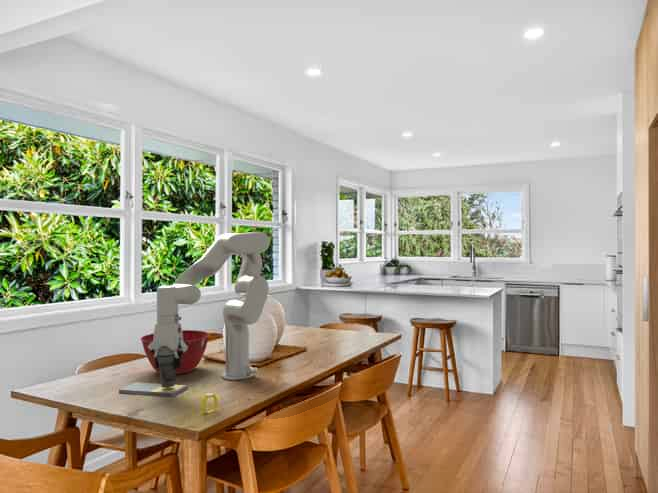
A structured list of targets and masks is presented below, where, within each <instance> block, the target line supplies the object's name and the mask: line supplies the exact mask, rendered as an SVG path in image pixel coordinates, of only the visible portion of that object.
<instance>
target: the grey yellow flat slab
mask: <svg viewBox="0 0 658 493" xmlns="http://www.w3.org/2000/svg"><path fill="white" fill-rule="evenodd" d="M185 390H188V385H185V384H174V386H173V387H169V388H163V387H161V383H153V382H152V383H147V382H133V383H131V384H128V385H126V386H124V387H122V388H120V389H119V388H118V394H128V395H129V394H130V395H132V394H133V395H144V396H146V395H147V396H161V397H174V396H176V395H178V394H181V393H182V392H184V391H185Z"/></svg>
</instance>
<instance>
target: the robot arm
mask: <svg viewBox="0 0 658 493" xmlns="http://www.w3.org/2000/svg"><path fill="white" fill-rule="evenodd" d="M270 242H271V241H270V237H269V236H268V235H267V233H265V232H262V231H255V232H254V231H252V232H251V231H250V232H241V233H238V232H237V233H235V232H234V233H223V234H220V235H219V236H218V237H217V238H216V239H215V240H214V241H213V243H212V244H211V245H210V246H209V248H208V249H207V250H206V251H205V253H204V254H202V256H201V258H199V259H198V260H197V261H195V262H194V263H193V264H192V265H190V266H189V267H188V268H186V269H185V270H184V271H182V273H181V274H180V275H179V276H178V277H177V279H176V280H175V281H174V282H173V283H172V285H161V286H158V287H157V288H156V323H155V326H154V330H153V333H154V337H153V341H152V342H151V343H150V344H149V345H148V348H149V349H150V350H151V352H152V354H153V355H154V357H155V365H156V368H159V364H158V360H157V351H158V349H159V348H160V347H161V346H167V347H169V348H170V349H171V350H172V351H173V352H174V355H175V358H174V369H178V368H180V365H181V356H182V355H183V354H184V353H185V351H186V350H187V349H188V346H187V345H186V344H185V343H184V342H183V333H182V330H183V327H182V324H181V322H179V321H181V320H182V317H181V316H179V305H193V304H196V303H197V302H199V301H200V299H201V297H202V293H201V290H200V288H199V287H198V286H197V284H198V283H200V282H201V281H203V280H205V279H208V278H210V277H213V276H214V275H216V274H217V273H218V272H219V271H220V270H221V269H222V267H223V266H224V265H225V263H226V262H227V260H228V259H229V258H230V257H231V256H232V255H241V258H242V260H241V265H240V268H239V269H240V270H239V273H238V274H237V278H236V281H235V283H234V293H235V294H236V295H237V296H239V297H241V298H244V299H240V298H239V299H238V298H236V299H231V300H228V301H227V302H226V303H225V304H224V306H223V310H222V315H223V316H222V317H223V322H224V330H225V332H224V333H225V372H223V373H221V378H222V379H224V380H230V381H232V380H233V381H237V380H240V381H241V380H247V379H250V378H252V377H254V376H253V375H254V374H257V375H258V373H259V368H258V367H252V363H250V333H249V327H248V325H251V326H252V325H253V324H256V323H257V322H258V321H259V319H260V318H261V316H262V313H263V310H264V307H265V304H266V300H267V298H268V294H269V283H268V281H267V279H266V278H265V277H264V276H262V275H261V272H262V268H263V261H262V256H261V253H264V252H266V250H268V248H269V247H270V244H271V243H270ZM181 348H182V350H181V351H180V349H181Z"/></svg>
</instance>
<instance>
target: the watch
mask: <svg viewBox="0 0 658 493" xmlns="http://www.w3.org/2000/svg"><path fill="white" fill-rule="evenodd" d="M209 398H213V405H212V408H211V410H208V411H207V409H206V402H207V400H209ZM218 403H219V401H218V398H217V396H216V395H215V393H214V392H206V393H205V394H204V397H203V398H202V402H201V410H202V413H204V414H206V415H208V414H211V413H214V412H215V411H216V409H217V408H218Z"/></svg>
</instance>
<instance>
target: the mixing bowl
mask: <svg viewBox="0 0 658 493" xmlns="http://www.w3.org/2000/svg"><path fill="white" fill-rule="evenodd" d="M182 333H183V342H184V343H185V344H186V345H187V346H188V349H187V350H186V351H185V353H184V354H183V355H182V356H181V365H180V368H178V369H175V376H176V375H183V374H184V375H185V374H187V373H190V372H192V371H193V370H194V369H196V368H197V367H198V365H199V364H200V363H201V361H202V358H203V356H204V354H205V352H206V348H207V346H208V345H207V344H208V341H209V336H210V333H209V332H207V331H203V330H196V329H195V330H190V329H187V330H186V329H185V330H183V329H182ZM153 337H154V332H153V333H148V334H146V335H144V336H142V337H140V341H141V344H142V348H143V350H144V354H145V355H146V357H147V360H148V361H149V364H150V366H152V368H153V370H155V371H156V372H158V373H160V372H159V368H156V365H155V357H154V355H153V354H152V352H151V350H150V349H149V348H148V345H149V344H150V343H151V342H152V341H153ZM181 350H182V348H181V349H180V351H181Z"/></svg>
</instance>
